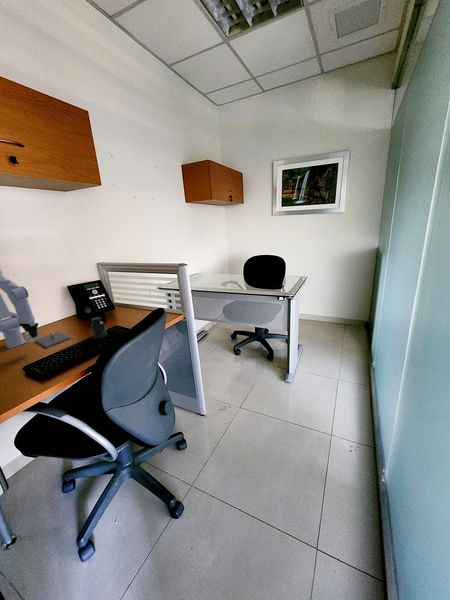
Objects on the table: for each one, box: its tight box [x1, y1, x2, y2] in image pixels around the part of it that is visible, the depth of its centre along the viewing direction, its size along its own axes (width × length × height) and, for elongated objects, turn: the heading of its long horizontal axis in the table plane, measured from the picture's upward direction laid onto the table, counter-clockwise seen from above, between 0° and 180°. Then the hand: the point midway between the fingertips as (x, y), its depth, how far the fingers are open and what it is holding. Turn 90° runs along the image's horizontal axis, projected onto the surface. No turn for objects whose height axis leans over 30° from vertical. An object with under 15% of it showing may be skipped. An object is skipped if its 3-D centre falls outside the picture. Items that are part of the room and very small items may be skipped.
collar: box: [23, 329, 42, 342], centre depth 122 cm, size 5×5×4 cm
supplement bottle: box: [90, 316, 108, 339], centre depth 132 cm, size 7×7×12 cm
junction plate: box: [35, 331, 71, 349], centre depth 135 cm, size 16×12×5 cm
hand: (32, 335), depth 122 cm, fingers closed on collar, 5 cm apart
